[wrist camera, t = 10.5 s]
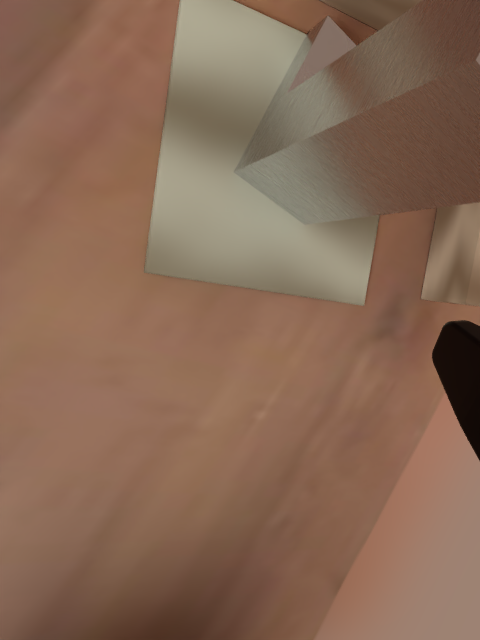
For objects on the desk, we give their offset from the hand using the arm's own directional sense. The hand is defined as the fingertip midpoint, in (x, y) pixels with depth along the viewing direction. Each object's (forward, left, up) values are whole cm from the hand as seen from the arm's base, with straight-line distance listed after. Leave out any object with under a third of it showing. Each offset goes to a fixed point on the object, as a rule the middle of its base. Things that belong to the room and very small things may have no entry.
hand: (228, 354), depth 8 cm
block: (+9, -7, -11) cm, 16 cm away
